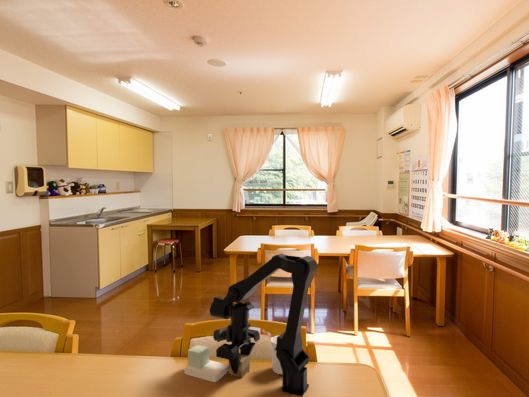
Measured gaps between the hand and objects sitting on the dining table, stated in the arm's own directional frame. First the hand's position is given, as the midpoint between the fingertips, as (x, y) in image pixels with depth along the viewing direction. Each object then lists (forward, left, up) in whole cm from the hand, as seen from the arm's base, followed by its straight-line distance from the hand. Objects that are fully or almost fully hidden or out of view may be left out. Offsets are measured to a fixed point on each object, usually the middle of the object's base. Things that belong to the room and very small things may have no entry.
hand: (239, 369), depth 107 cm
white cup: (-12, -8, -1) cm, 14 cm away
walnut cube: (0, 0, -1) cm, 1 cm away
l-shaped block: (+9, +4, -1) cm, 11 cm away
